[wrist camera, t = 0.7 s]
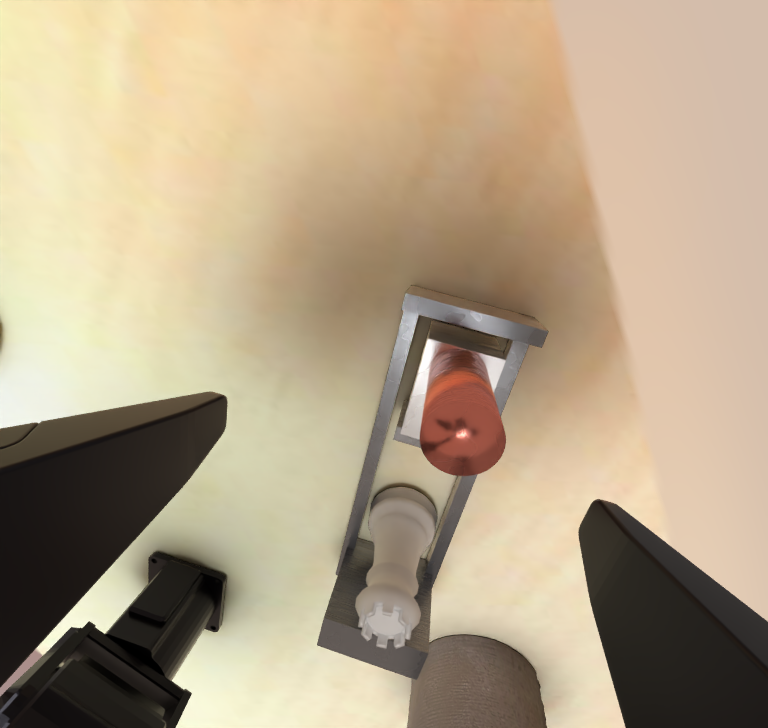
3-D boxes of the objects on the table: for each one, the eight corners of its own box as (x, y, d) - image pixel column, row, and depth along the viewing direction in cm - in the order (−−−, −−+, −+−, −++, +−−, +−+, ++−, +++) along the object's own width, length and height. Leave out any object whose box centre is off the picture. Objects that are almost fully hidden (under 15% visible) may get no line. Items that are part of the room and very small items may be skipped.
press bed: (426, 591, 26) (420, 686, 21) (339, 562, 27) (310, 647, 21) (533, 317, 19) (569, 350, 13) (411, 285, 20) (396, 304, 14)
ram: (466, 429, 22) (478, 564, 13) (401, 410, 22) (368, 529, 13) (499, 338, 20) (542, 422, 11) (427, 318, 20) (409, 384, 11)
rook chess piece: (389, 543, 26) (364, 669, 18) (359, 493, 25) (321, 604, 17) (448, 527, 24) (448, 656, 17) (420, 474, 23) (406, 585, 16)
